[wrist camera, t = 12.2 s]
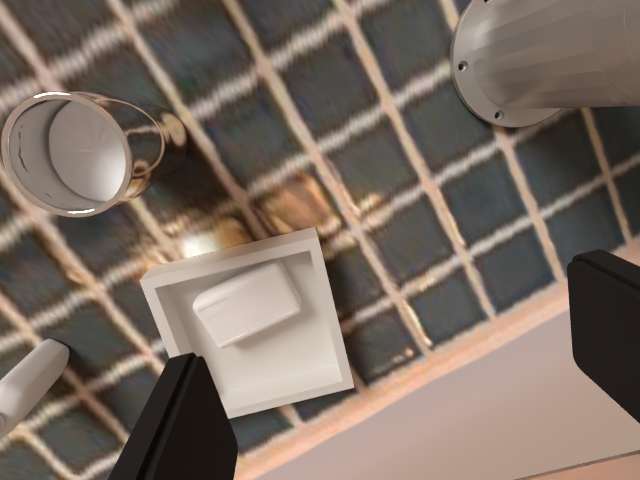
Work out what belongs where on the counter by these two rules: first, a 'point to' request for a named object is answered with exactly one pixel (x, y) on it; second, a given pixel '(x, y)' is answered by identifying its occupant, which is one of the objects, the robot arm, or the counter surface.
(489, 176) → the counter surface
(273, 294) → the soap
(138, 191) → the beer glass
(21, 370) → the eye dropper bottle
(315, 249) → the box
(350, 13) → the counter surface
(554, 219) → the counter surface
